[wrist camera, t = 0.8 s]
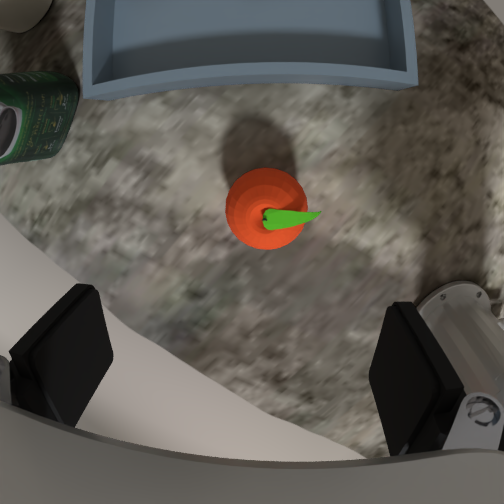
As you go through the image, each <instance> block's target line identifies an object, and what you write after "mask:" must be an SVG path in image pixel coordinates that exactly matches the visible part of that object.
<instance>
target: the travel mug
mask: <svg viewBox="0 0 504 504" xmlns="http://www.w3.org/2000/svg"><path fill="white" fill-rule="evenodd" d="M51 3H52V0H0V29H1V30H6V31H11V32H16V33H22V32H25V31H27V30H29V29H31V28H32V27H34V26H35V25H36V24H37V23H38V22H39V21H40V20H41V19H42V17H43V16H44V15H45V13H46V12H47V10H48V9H49V7H50V5H51Z"/></svg>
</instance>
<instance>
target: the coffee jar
mask: <svg viewBox="0 0 504 504" xmlns="http://www.w3.org/2000/svg"><path fill="white" fill-rule="evenodd" d="M78 99H79V92H78V89H77V86H76V84H75V83H74V81H73V80H71V79H70V78H69V77H67V76H65V75H62V74H60V73H56V72H49V71H33V72H21V73H9V74H0V165H5V164H11V163H18V162H27V161H36V160H42V159H47V158H51V157H53V156H55V155H56V154H57V153H58V152H59V151H60V149H61V147H62V145H63V143H64V141H65V139H66V137H67V134H68V132H69V130H70V127H71V124H72V121H73V118H74V115H75V111H76V108H77V104H78Z"/></svg>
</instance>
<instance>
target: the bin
mask: <svg viewBox="0 0 504 504" xmlns="http://www.w3.org/2000/svg"><path fill="white" fill-rule="evenodd" d="M258 83H309V84H332V85H348V86H360V87H371V88H380V89H388V90H396V91H398V90H402V89H406V88H410V87H414V86H418V68H417V54H416V43H415V33H414V24H413V16H412V9H411V2H410V0H87V1H86V12H85V25H84V42H83V98H84V99H97V100H114V99H119V98H125V97H130V96H136V95H142V94H148V93H155V92H162V91H169V90H177V89H186V88H196V87H206V86H219V85H234V84H258Z"/></svg>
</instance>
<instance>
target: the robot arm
mask: <svg viewBox="0 0 504 504" xmlns="http://www.w3.org/2000/svg"><path fill="white" fill-rule="evenodd" d="M503 329H504V318H501V319H497V318H496V317H495V316H494V315H493V313H492V312H491V303H490V300H489V297H488V295H487V294H486V292H485V291H484V290H483V289H482V288H481V287H480V286H479V285H477V284H475V283H473V282H470V281H455V282H451V283H448V284H446V285H444V286H441V287H440V288H438V289H436V290H435V291H433V292H432V293H431V294H430V295H428V296H427V297H426V298H425V299H424V300H423V301H422V302H421V303H420V304H419V306H418V307H417V308H416V307H415V306H414V304H413V303H412V302H394V303H393V304H392V306H389V307H388V308H387V310H386V314H385V317H384V321H383V325H382V329H381V333H380V336H379V340H378V343H377V347H376V350H375V353H374V357H373V360H372V363H371V367H370V370H369V382H370V385H371V388H372V392H373V395H374V399H375V402H376V405H377V409H378V412H379V416H380V419H381V423H382V427H383V430H384V434H385V438H386V441H387V445H388V449H389V453H390V457H381V458H370V459H359V460H345V461H321V462H278V461H276V462H275V461H255V460H240V459H228V458H218V457H209V456H202V455H194V454H187V453H181V452H175V451H169V450H163V449H158V448H153V447H148V446H143V445H138V444H134V443H129V442H125V441H120V440H117V439H113V438H108V437H105V436H102V435H98V434H94V433H91V432H87V431H84V430H81V429H77V428H75V426H76V424H77V422H78V420H79V419H80V417H81V415H82V413H83V411H84V410H85V408H86V406H87V404H88V403H89V401H90V399H91V397H92V396H93V394H94V392H95V391H96V389H97V387H98V385H99V384H100V382H101V380H102V379H103V377H104V375H105V374H106V372H107V370H108V369H109V367H110V365H111V363H112V361H113V350H112V347H111V343H110V339H109V335H108V331H107V327H106V322H105V318H104V314H103V309H102V305H101V300H100V295H99V292H98V290H95V288H94V286H93V285H88V284H79V283H78V284H76V285H74V286H73V287H72V288H71V289H70V290H69V291H68V292H67V293H66V294H65V295H64V296H63V297H62V298H61V299H60V300H59V301H57V302H56V304H54V305H53V306H52V307H51V308H50V309H49V310H48V311H47V312H46V314H44V315H43V316H42V317H41V318H40V319H39V320H38V321H37V322H36V323H35V324H34V325H33V326H32V327H31V328H30V329H29V330H28V331H27V333H26V334H25V335H24V336H23V337H22V338H21V339H20V340H19V341H18V342H17V343H16V344H15V345H14V346H13V347H12V348H11V349H10V350H9V353H10V355H11V357H12V360H11V361H10V362H9V361H8V360H7V359H6V358H5V357H3V356H1V355H0V504H504V330H503Z"/></svg>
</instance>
